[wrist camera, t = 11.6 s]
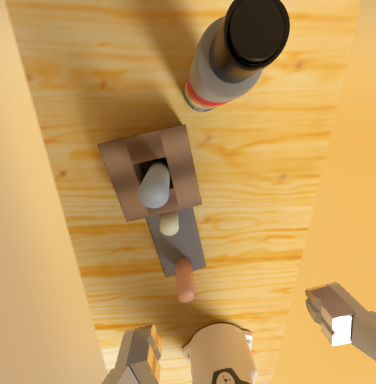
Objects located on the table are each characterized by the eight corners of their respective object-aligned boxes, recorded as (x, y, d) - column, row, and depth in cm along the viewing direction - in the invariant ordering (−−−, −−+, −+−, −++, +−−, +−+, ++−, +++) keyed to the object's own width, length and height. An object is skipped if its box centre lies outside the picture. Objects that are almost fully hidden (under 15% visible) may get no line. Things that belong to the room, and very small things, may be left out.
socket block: (196, 191, 34) (201, 204, 28) (134, 206, 34) (126, 221, 28) (182, 124, 30) (185, 124, 24) (111, 141, 30) (97, 144, 24)
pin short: (179, 219, 35) (180, 233, 31) (163, 223, 35) (162, 237, 31) (175, 204, 34) (176, 216, 29) (159, 208, 34) (157, 221, 29)
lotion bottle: (181, 108, 29) (198, 74, 10) (187, 67, 27) (222, -63, 9) (215, 115, 30) (289, 95, 11) (223, 76, 28) (327, -27, 9)
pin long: (171, 173, 33) (171, 205, 19) (154, 177, 32) (141, 210, 19) (168, 156, 31) (165, 176, 18) (149, 159, 31) (133, 182, 18)
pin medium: (192, 267, 39) (197, 300, 32) (177, 270, 39) (179, 304, 32) (189, 255, 38) (193, 286, 31) (174, 258, 38) (174, 291, 31)
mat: (205, 266, 40) (205, 267, 40) (165, 275, 40) (165, 276, 40) (189, 195, 34) (189, 196, 34) (142, 206, 34) (142, 207, 34)
